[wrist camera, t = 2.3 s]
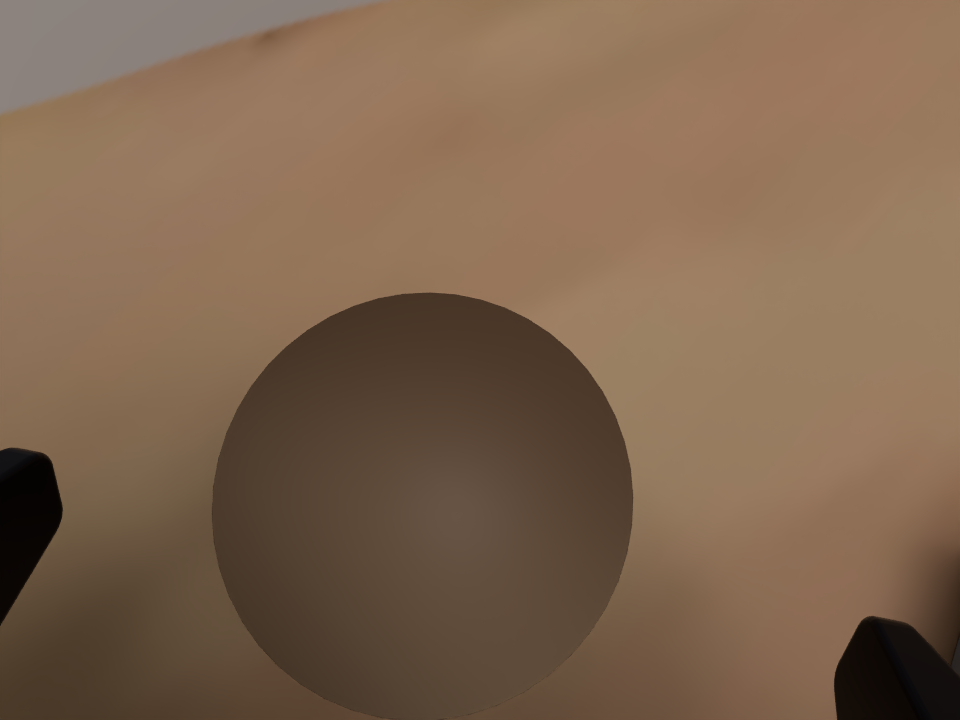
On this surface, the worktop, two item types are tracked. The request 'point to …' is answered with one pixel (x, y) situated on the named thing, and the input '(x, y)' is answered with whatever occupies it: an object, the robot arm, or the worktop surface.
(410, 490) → the walnut pin
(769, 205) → the worktop surface
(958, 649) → the socket block
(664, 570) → the worktop surface
